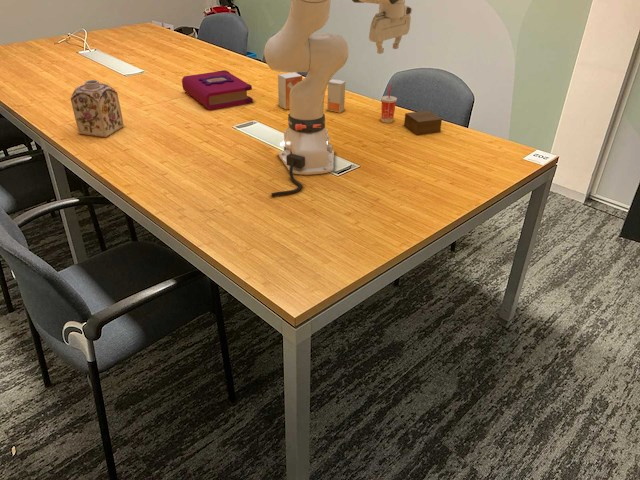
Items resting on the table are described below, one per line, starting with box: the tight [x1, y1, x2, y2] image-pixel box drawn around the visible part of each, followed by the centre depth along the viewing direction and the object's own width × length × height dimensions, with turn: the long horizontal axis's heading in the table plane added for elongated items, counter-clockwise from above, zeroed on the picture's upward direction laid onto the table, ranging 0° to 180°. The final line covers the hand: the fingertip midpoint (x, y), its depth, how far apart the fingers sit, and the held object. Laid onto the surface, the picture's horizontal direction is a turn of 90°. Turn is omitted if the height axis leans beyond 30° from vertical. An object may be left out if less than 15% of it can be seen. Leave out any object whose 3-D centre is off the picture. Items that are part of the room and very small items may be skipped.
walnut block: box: [403, 110, 443, 136], centre depth 199 cm, size 10×10×5 cm
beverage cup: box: [380, 84, 398, 124], centre depth 203 cm, size 6×6×14 cm
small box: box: [277, 72, 303, 110], centre depth 216 cm, size 8×6×13 cm
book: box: [181, 69, 254, 111], centre depth 225 cm, size 21×28×8 cm
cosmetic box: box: [326, 78, 347, 114], centre depth 213 cm, size 6×4×12 cm
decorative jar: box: [70, 79, 125, 138], centre depth 189 cm, size 12×12×18 cm
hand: (387, 50), depth 192 cm, fingers open, 8 cm apart
